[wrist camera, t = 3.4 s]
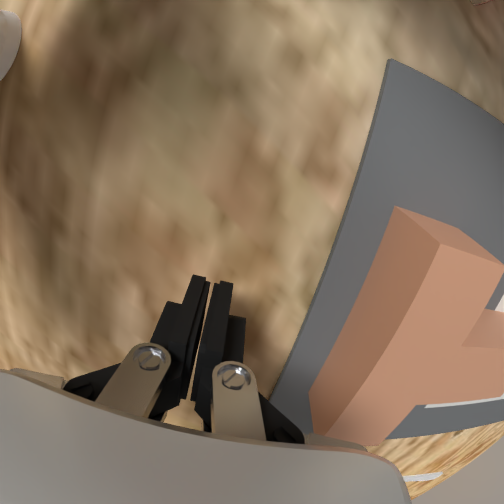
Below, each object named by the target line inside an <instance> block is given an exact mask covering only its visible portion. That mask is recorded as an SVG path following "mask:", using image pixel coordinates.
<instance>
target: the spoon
mask: <svg viewBox="0 0 504 504" xmlns="http://www.w3.org/2000/svg"><path fill="white" fill-rule="evenodd" d="M442 474H443V472H436V473H428V474H420V475H410V476H402V477H403V479H404V481H405V482H406V481H407V482H408V481H421V480H422V481H423V480H425V481H426V480H427V481H428V480H431V479H435V478H436V477H439V476H440V475H442Z"/></svg>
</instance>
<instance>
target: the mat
mask: <svg viewBox="0 0 504 504" xmlns="http://www.w3.org/2000/svg"><path fill="white" fill-rule="evenodd" d="M394 206H398V207H401V208H404V209H406V210H409V211H412V212H415V213H418V214H421V215H424V216H426V217H429V218H432V219H435V220H437V221H440V222H443V223H446V224H448V225H451V226H453V227H456V228H458V229H460V230H461V231H462V232H464V233H465V234H466V235H468V236H469V237H470V238H472V239H473V240H474V241H476V242H477V243H478V244H479V245H481V246H482V247H483V248H484V249H486V250H487V251H488V252H489V253H491V254H492V255H493V256H494V257H495V258H497V259H498V260H499V261H500V262H501V263H503V264H504V124H503V123H502V122H500V121H499V120H498V119H496V118H495V117H493V116H492V115H491V114H489V113H488V112H486V111H485V110H483V109H482V108H480V107H479V106H477V105H476V104H474V103H473V102H471V101H470V100H468V99H466V98H465V97H463V96H462V95H460V94H458V93H457V92H455V91H453V90H452V89H450V88H448V87H447V86H445V85H443V84H441V83H439V82H438V81H436V80H434V79H432V78H430V77H428V76H426V75H425V74H423V73H421V72H419V71H417V70H415V69H413V68H411V67H409V66H406V65H404V64H402V63H400V62H398V61H396V60H394V59H388V60H387V64H386V69H385V73H384V77H383V81H382V85H381V89H380V93H379V97H378V101H377V105H376V109H375V113H374V116H373V120H372V124H371V127H370V131H369V135H368V138H367V142H366V145H365V148H364V152H363V155H362V159H361V162H360V165H359V169H358V172H357V175H356V178H355V181H354V185H353V188H352V191H351V194H350V197H349V200H348V203H347V206H346V209H345V212H344V215H343V218H342V221H341V224H340V227H339V230H338V232H337V235H336V238H335V241H334V244H333V247H332V249H331V252H330V255H329V258H328V260H327V263H326V266H325V268H324V271H323V274H322V276H321V279H320V281H319V284H318V287H317V289H316V292H315V294H314V297H313V299H312V302H311V304H310V307H309V309H308V312H307V314H306V317H305V319H304V322H303V324H302V327H301V329H300V331H299V334H298V336H297V338H296V341H295V343H294V345H293V348H292V350H291V352H290V355H289V357H288V359H287V362H286V364H285V366H284V368H283V371H282V373H281V375H280V377H279V379H278V382H277V384H276V386H275V388H274V390H273V392H272V395H271V397H270V399H269V402H270V403H271V404H272V405H273V406H274V407H275V408H276V409H278V410H279V411H280V412H281V413H282V414H283V415H284V416H285V417H287V418H288V419H289V420H290V421H291V422H292V423H293V424H295V425H296V426H297V427H298V428H299V429H300V430H301V431H302V433H304V434H308V435H309V433H310V432H311V433H314V431H313V423H312V416H311V409H310V402H309V395H308V392H309V390H310V388H311V386H312V385H313V383H314V381H315V379H316V378H317V376H318V374H319V372H320V370H321V369H322V367H323V365H324V363H325V361H326V359H327V357H328V356H329V354H330V352H331V350H332V348H333V346H334V344H335V342H336V340H337V338H338V336H339V334H340V332H341V330H342V328H343V326H344V324H345V322H346V320H347V318H348V316H349V314H350V312H351V310H352V308H353V305H354V303H355V301H356V299H357V297H358V295H359V292H360V290H361V288H362V286H363V283H364V281H365V279H366V277H367V274H368V272H369V270H370V267H371V265H372V263H373V260H374V258H375V255H376V253H377V251H378V248H379V246H380V243H381V241H382V238H383V236H384V233H385V230H386V228H387V225H388V223H389V220H390V217H391V214H392V212H393V209H394ZM484 309H489V310H494V311H500V312H504V273H503V275H502V277H501V279H500V281H499V283H498V285H497V287H496V288H495V290H494V292H493V294H492V296H491V298H490V300H489V301H488V303H487V305H486V307H485V308H484ZM503 420H504V393H503V395H502V396H501V397H496V398H489V399H481V400H473V401H464V402H454V403H442V404H427V405H416V406H415V407H414V408H413V409H412V410H411V411H410V413H409V414H408V415H407V416H406V417H405V418H404V419H403V420H402V421H401V423H400V424H399V425H398V426H397V427H396V428H395V429H394V430H393V431H392V432H391V433H390V434H389V435H388V436H387V437H386V438H385V439H397V438H408V437H417V436H426V435H433V434H440V433H446V432H452V431H458V430H463V429H469V428H474V427H478V426H483V425H487V424H491V423H495V422H499V421H503Z"/></svg>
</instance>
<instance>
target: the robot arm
mask: <svg viewBox="0 0 504 504" xmlns="http://www.w3.org/2000/svg"><path fill="white" fill-rule="evenodd" d="M209 287H210V282H208V281H206V277H202V276H197V275H193V276H192V278H191V281H190V284H189V286H188V289H187V292H186V294H185V297H184V300H183V303H182V304H178V303H174V302H170V301H168V302H167V303H166V305H165V307H164V310H163V312H162V314H161V317H160V319H159V321H158V324H157V326H156V329H155V331H154V333H153V336H152V338H151V341H150V343H141V344H138V345H136V346H134V347H133V348H132V349H131V350H130V351H129V353H128V354H127V356H126V357H125V359H124V360H123V361H122V363H119V364H116V365H113V366H110V367H107V368H104V369H101V370H98V371H95V372H91V373H88V374H85V375H82V376H79V377H75V378H73V379H71V380H69V381H66V380H64V378H63V377H59V376H53V375H48V374H43V373H38V372H34V371H29V370H25V369H19V368H15V369H11V370H4V369H0V504H412V503H411V499H410V496H409V492H408V489H407V486H406V484H405V481H404V479H403V477H402V475H401V473H400V471H399V470H398V468H397V467H396V466H395V465H394V464H393V463H392V462H390V461H389V460H387V459H385V458H383V457H381V456H378V455H375V454H372V453H369V452H368V451H367V449H366V448H365V447H363V446H362V445H360V444H357V443H353V442H349V441H344V440H339V439H335V438H331V437H326V436H322V435H318V434H314V433H311V432H310V433H309V435H308V434H304V433H302V431H301V430H300V429H299V428H298V427H297V426H296V425H295V424H293V423H292V422H291V421H290V420H289V419H288V418H287V417H285V416H284V415H283V414H282V413H281V412H280V411H279V410H278V409H276V408H275V407H274V406H273V405H272V404H271V403H270V402H269V401H268V400H267V399H265V398H264V397H263V396H262V395H261V394H260V393H259V392H258V389H257V383H256V378H255V375H254V373H253V372H252V370H251V369H250V368H249V367H247V366H246V365H244V364H243V354H244V340H245V325H246V318H243V317H238V316H233V315H229V310H230V303H231V297H232V290H233V283H229V282H225V281H220V284H217V283H214V287H213V291H212V295H211V299H210V303H209V308H208V312H207V316H206V320H205V324H204V329H203V333H202V337H201V341H200V336H201V331H202V325H203V320H204V314H205V309H206V303H207V298H208V293H209ZM199 341H200V346H199V351H198V357H197V362H196V368H195V374H194V381H193V387H192V393H191V399H190V401H195V402H196V404H195V409H194V410H195V411H196V412H197V414H198V415H199V416H200V417H201V418H202V423H201V428H202V431H199V430H194V429H189V428H185V427H180V426H176V425H171V424H167V423H163V422H164V420H165V418H166V416H167V412H168V410H170V409H172V408H174V407H176V406H179V403H180V399H186V397H187V393H188V388H189V384H190V379H191V375H192V370H193V366H194V362H195V358H196V353H197V349H198V345H199Z"/></svg>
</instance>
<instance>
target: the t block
mask: <svg viewBox="0 0 504 504" xmlns="http://www.w3.org/2000/svg"><path fill="white" fill-rule="evenodd" d="M503 273H504V264H503V263H501V262H500V261H499V260H498V259H497V258H495V257H494V256H493V255H492V254H491V253H489V252H488V251H487V250H486V249H484V248H483V247H482V246H481V245H479V244H478V243H477V242H476V241H474V240H473V239H472V238H470V237H469V236H468V235H466V234H465V233H464V232H462V231H461V230H460V229H458V228H456V227H453V226H451V225H448V224H446V223H443V222H440V221H437V220H435V219H432V218H429V217H426V216H424V215H421V214H418V213H415V212H412V211H409V210H406V209H404V208H401V207H398V206H394V209H393V212H392V214H391V217H390V220H389V223H388V225H387V228H386V230H385V233H384V236H383V238H382V241H381V243H380V246H379V248H378V251H377V253H376V255H375V258H374V260H373V263H372V265H371V267H370V270H369V272H368V274H367V277H366V279H365V281H364V283H363V286H362V288H361V290H360V292H359V295H358V297H357V299H356V301H355V303H354V305H353V308H352V310H351V312H350V314H349V316H348V318H347V320H346V322H345V324H344V326H343V328H342V330H341V332H340V334H339V336H338V338H337V340H336V342H335V344H334V346H333V348H332V350H331V352H330V354H329V356H328V357H327V359H326V361H325V363H324V365H323V367H322V369H321V370H320V372H319V374H318V376H317V378H316V379H315V381H314V383H313V385H312V386H311V388H310V390H309V392H308V395H309V402H310V409H311V416H312V423H313V431H314V434H318V435H322V436H326V437H331V438H335V439H339V440H344V441H349V442H353V443H357V444H360V445H362V446H377V445H379V444H380V443H381V442H382V441H383V440H384V439H385V438H386V437H387V436H388V435H389V434H390V433H391V432H392V431H393V430H394V429H395V428H396V427H397V426H398V425H399V424H400V423H401V421H402V420H403V419H404V418H405V417H406V416H407V415H408V414H409V413H410V411H411V410H412V409H413V408H414V407H415V406H416V405H427V404H442V403H454V402H464V401H473V400H481V399H489V398H496V397H501V396H502V395H503V393H504V312H500V311H494V310H489V309H484V308H485V307H486V305H487V303H488V301H489V300H490V298H491V296H492V294H493V292H494V290H495V288H496V287H497V285H498V283H499V281H500V279H501V277H502V275H503Z"/></svg>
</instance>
